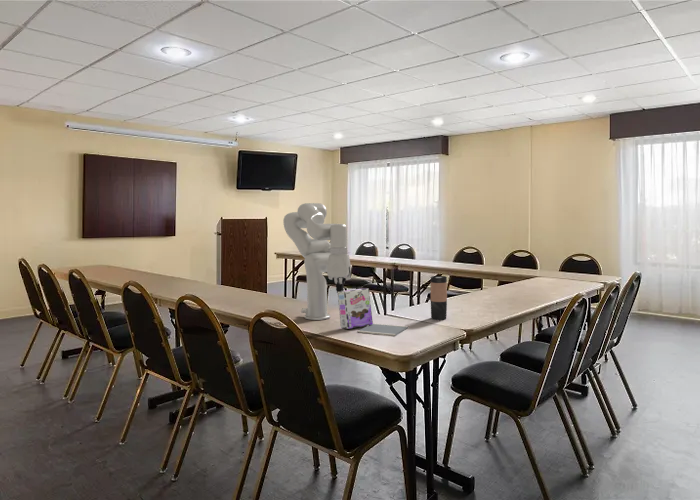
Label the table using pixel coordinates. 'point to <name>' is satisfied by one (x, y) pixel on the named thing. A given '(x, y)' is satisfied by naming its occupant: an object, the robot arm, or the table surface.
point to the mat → (383, 329)
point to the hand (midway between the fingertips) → (339, 292)
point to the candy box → (355, 308)
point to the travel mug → (438, 297)
